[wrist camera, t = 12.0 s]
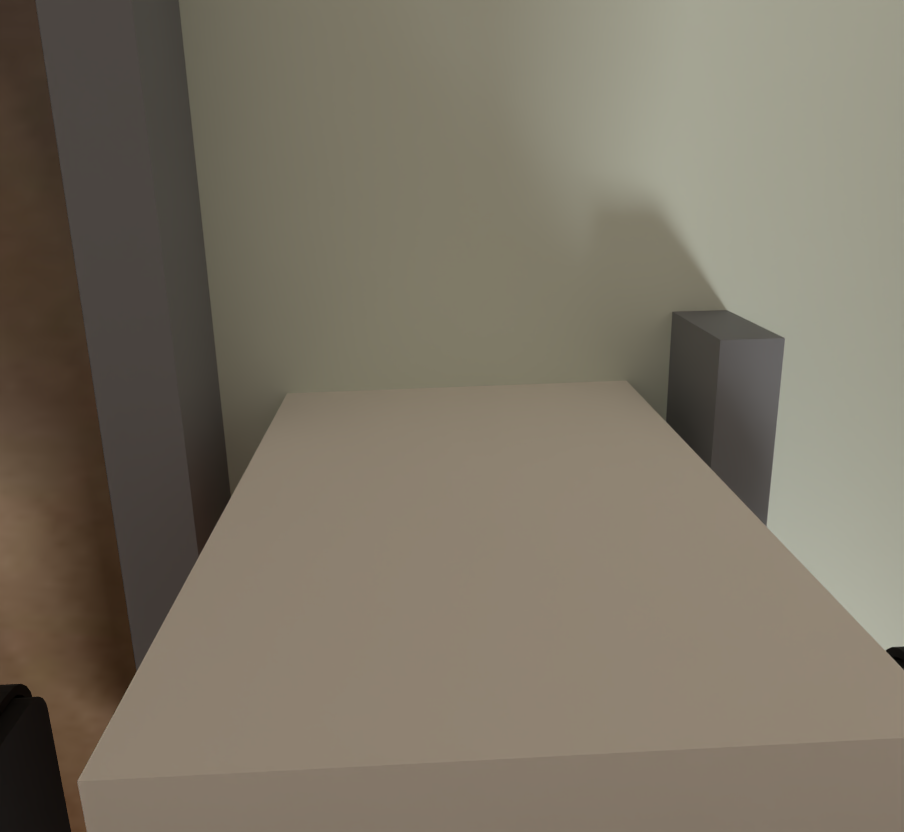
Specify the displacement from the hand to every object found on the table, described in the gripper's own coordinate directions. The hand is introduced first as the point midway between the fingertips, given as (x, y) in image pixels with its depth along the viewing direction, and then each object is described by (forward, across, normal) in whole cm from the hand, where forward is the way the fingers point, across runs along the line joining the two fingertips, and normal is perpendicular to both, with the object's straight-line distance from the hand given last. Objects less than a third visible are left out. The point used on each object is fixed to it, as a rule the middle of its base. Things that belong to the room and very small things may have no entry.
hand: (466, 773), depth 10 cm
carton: (+4, 0, 0) cm, 4 cm away
